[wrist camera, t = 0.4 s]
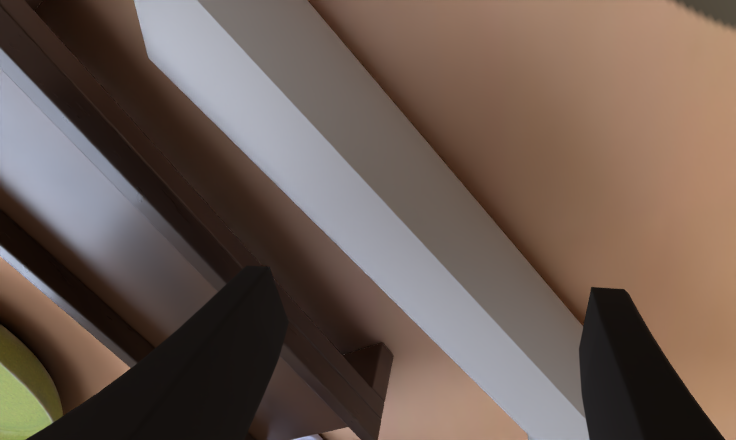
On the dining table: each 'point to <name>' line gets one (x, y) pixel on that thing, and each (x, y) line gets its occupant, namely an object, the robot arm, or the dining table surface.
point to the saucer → (24, 391)
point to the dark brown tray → (141, 236)
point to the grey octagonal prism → (376, 194)
